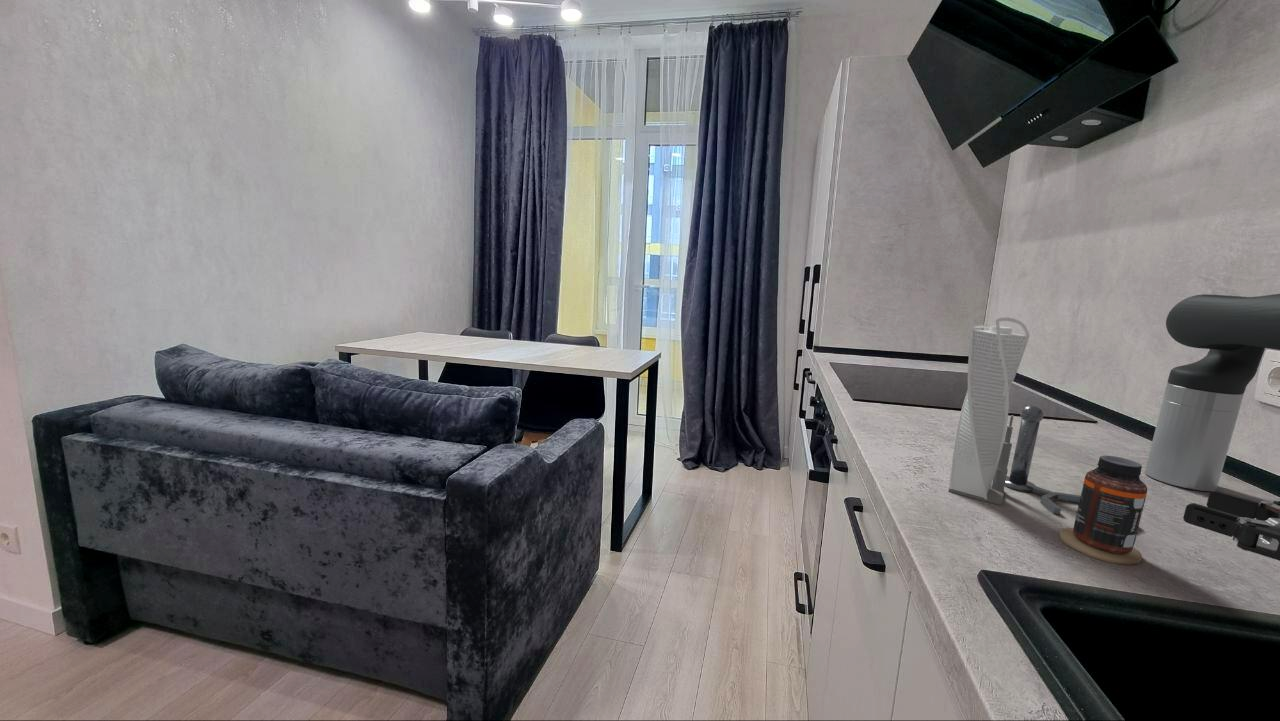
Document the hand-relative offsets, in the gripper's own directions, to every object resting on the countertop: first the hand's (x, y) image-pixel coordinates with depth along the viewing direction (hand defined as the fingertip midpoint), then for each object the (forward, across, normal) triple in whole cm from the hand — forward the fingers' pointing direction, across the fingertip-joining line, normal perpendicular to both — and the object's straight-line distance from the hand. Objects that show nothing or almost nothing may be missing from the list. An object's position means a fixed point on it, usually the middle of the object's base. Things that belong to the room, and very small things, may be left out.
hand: (1197, 504), depth 60 cm
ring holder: (+16, -11, +9) cm, 22 cm away
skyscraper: (+25, -3, +9) cm, 26 cm away
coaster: (+8, 0, +9) cm, 12 cm away
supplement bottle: (+7, 0, +9) cm, 12 cm away
